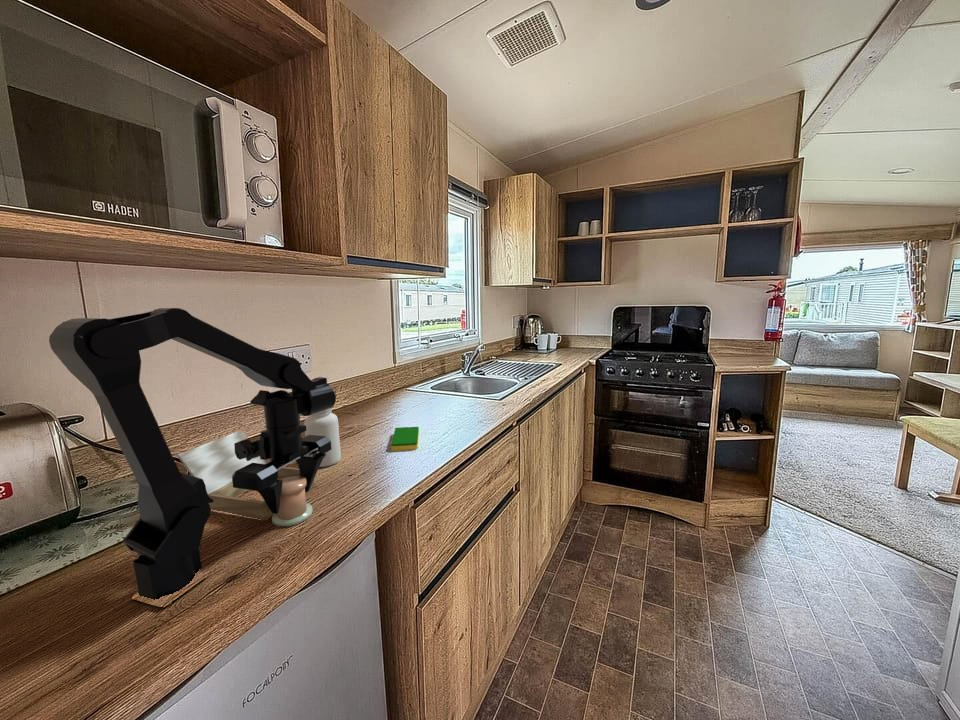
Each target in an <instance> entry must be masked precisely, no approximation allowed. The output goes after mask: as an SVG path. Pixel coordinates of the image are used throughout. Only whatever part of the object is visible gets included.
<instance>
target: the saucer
mask: <svg viewBox="0 0 960 720" xmlns="http://www.w3.org/2000/svg"><path fill="white" fill-rule="evenodd" d="M306 507H307V511H306V512H305V513H304V514H303V515H301V516H300V517H297V518H294V519H290V520H282V519H279V518H278V513H277V514H275V513H274V514H273V515H272V516H271V521H272V524H273V525H274V524H275V525H277V526H276V527H279V526H289V527H292V525H294V526H297V525H300V524H302V523H304V522H306V521H307V520H308V519H310V518H309V517H310V516H311V517H312V516H313V513H312V512H313V511H314V510H313V506H312V505H311V504H310V503H309V502H306ZM305 520H306V521H305ZM303 521H304V522H303ZM301 522H302V523H301ZM299 523H300V524H299ZM296 524H297V525H296ZM275 525H274V526H275Z"/></svg>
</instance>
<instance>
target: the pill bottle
mask: <svg viewBox="0 0 960 720" xmlns="http://www.w3.org/2000/svg"><path fill="white" fill-rule="evenodd" d="M332 410H333V407H332V408H330V409H327V410H324V411H321V412H318V413H315V414H312V415H309V416H306V418H305V419H304V422H303V425H305V426H306V431H305V432H304V437H306V436H308V435H317V436H327V437H328V438H329V439H330V441H331V450H330V451H328V452H326V453H325V454H326V456H325V457H324V458H323V460H322V462H321V464H320V466H319V468H326V467H330V466H333V465H336V464H338V463H339V462H340V461H341V459H342V453H341V452H342V451H341V441H340V432H339V431H340V428H339V419H338V416H337V415H336V414H335V413H333V412H332Z"/></svg>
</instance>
